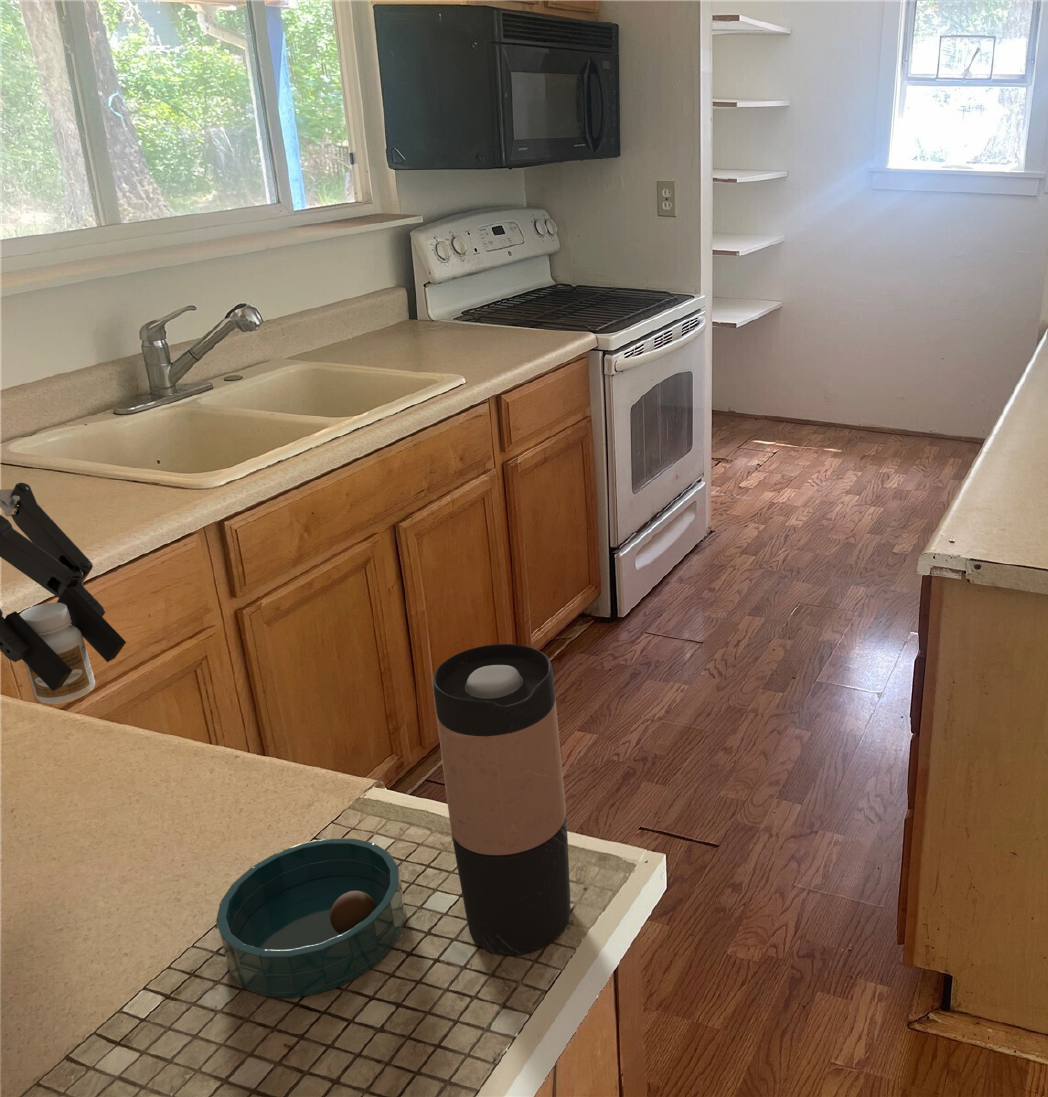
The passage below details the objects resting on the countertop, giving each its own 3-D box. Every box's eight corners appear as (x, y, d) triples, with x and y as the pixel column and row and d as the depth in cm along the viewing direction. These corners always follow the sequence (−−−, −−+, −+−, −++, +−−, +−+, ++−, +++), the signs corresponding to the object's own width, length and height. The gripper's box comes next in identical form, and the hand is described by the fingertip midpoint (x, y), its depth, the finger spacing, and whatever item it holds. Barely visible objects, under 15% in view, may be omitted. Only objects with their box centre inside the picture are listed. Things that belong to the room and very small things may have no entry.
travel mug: (492, 875, 77) (463, 637, 69) (589, 889, 75) (570, 648, 68) (445, 950, 70) (407, 695, 62) (551, 967, 68) (526, 708, 61)
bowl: (248, 1027, 64) (237, 984, 63) (212, 918, 73) (201, 879, 71) (428, 946, 70) (422, 906, 69) (375, 855, 79) (369, 818, 78)
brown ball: (315, 911, 69) (354, 900, 68) (335, 888, 72) (374, 877, 71) (332, 950, 69) (371, 939, 69) (352, 925, 72) (390, 915, 72)
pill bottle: (36, 711, 85) (10, 627, 82) (36, 688, 89) (11, 607, 86) (97, 696, 87) (74, 614, 84) (95, 674, 91) (73, 595, 88)
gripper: (-20, 454, 94) (159, 642, 95) (-242, 520, 79) (-26, 743, 80) (5, 402, 90) (191, 598, 91) (-223, 461, 75) (4, 695, 76)
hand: (90, 665), depth 85 cm, fingers closed on pill bottle, 4 cm apart
